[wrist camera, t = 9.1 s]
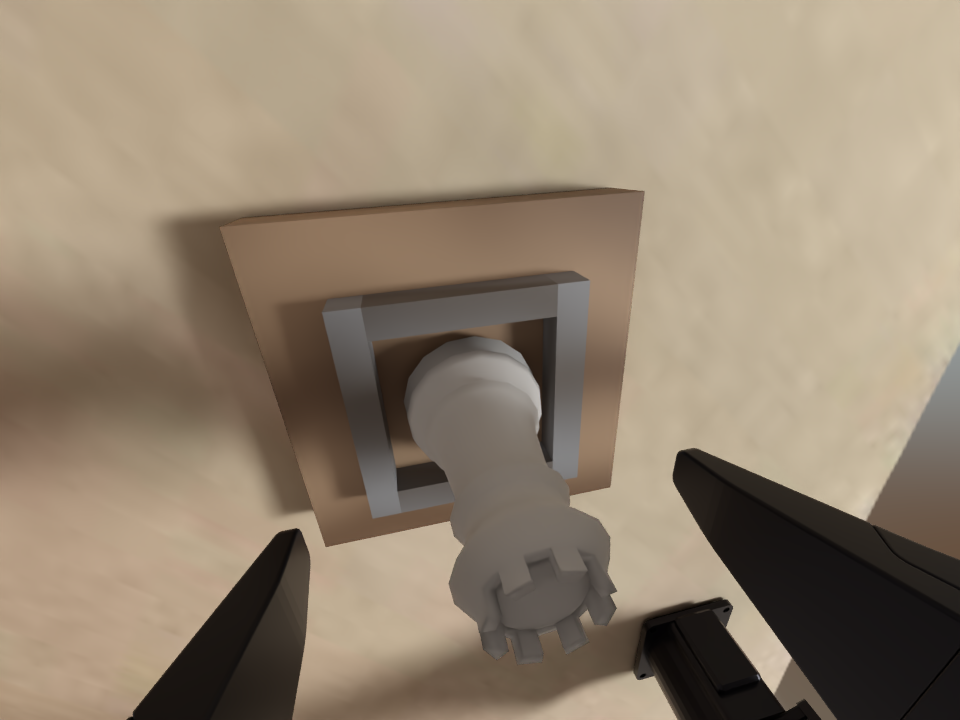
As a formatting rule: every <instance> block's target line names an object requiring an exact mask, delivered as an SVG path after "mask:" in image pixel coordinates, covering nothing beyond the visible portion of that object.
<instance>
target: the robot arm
mask: <svg viewBox="0 0 960 720" xmlns="http://www.w3.org/2000/svg"><path fill="white" fill-rule="evenodd" d="M673 482H674V484H675V487H676V488H677V490H678V492H679V493H680V495H681V497H682V498H683V500H684V502H685V503H686V505H687V507H688V509H689V510H690V512H691V514H692V515H693V517H694V519H695V520H696V522H697V524H698V525H699V527H700V529H701V531H702V532H703V534H704V535H705V537H706V539H707V540H708V542H709V543H710V545H711V546H712V547H713V549H714V550H715V552H716V553H717V554H718V556H719V557H720V559H721V560H722V561H723V563H724V564H725V566H726V567H727V568H728V570H729V571H730V572H731V574H732V575H733V577H734V578H735V579H736V581H737V582H738V583H739V585H740V586H741V588H742V589H743V590H744V592H745V593H746V595H747V596H748V597H749V599H750V600H751V601H752V603H753V604H754V606H755V607H756V608H757V610H758V611H759V613H760V614H761V615H762V617H763V618H764V619H765V621H766V622H767V624H768V625H769V626H770V628H771V629H772V630H773V632H774V633H775V635H776V636H777V637H778V639H779V640H780V642H781V643H782V644H783V646H784V647H785V648H786V650H787V651H788V653H789V654H790V655H791V657H792V658H793V659H794V661H795V662H796V664H797V665H798V666H799V668H800V669H801V671H802V672H803V673H804V675H805V676H806V677H807V679H808V680H809V682H810V683H811V684H812V686H813V687H814V689H815V690H816V691H817V693H818V694H819V695H820V697H821V698H822V700H823V701H824V702H825V704H826V705H827V706H828V708H829V709H830V711H831V712H832V713H833V714H834V716H835V717H836V718H837V720H960V560H958V559H956V558H953V557H951V556H948V555H946V554H943V553H941V552H938V551H935V550H933V549H930V548H928V547H926V546H923V545H921V544H918V543H916V542H914V541H911V540H909V539H906V538H904V537H902V536H899V535H897V534H894V533H892V532H890V531H888V530H885V529H883V528H881V527H878V526H876V525H871V524H870V523H869V522H866V521H864V520H862V519H859V518H857V517H855V516H853V515H850V514H848V513H846V512H843V511H841V510H839V509H836V508H834V507H832V506H829V505H827V504H825V503H822V502H820V501H818V500H815V499H813V498H811V497H808V496H806V495H804V494H801V493H799V492H797V491H794V490H792V489H790V488H787V487H785V486H783V485H780V484H778V483H776V482H773V481H771V480H769V479H766V478H764V477H762V476H759V475H757V474H755V473H752V472H750V471H748V470H746V469H743V468H741V467H739V466H736V465H734V464H732V463H729V462H727V461H725V460H722V459H720V458H718V457H715V456H713V455H711V454H708V453H706V452H704V451H701V450H699V449H696V448H691V449H686V450H681V451H679V452H678V454H677V456H676V461H675V466H674V471H673ZM309 579H310V555H309V551H308V549H307V546H306V543H305V540H304V538H303V535H302V532H301V531H300V530H299V529H297V528H295V529H290V530H285V531H281V532H279V533H278V534H276V535H275V537H274V538H273V539H272V540H271V542H270V543H269V544H268V545H267V546H266V548H265V549H264V550H263V551H262V553H261V554H260V555H259V556H258V558H257V559H256V560H255V561H254V563H253V564H252V565H251V566H250V568H249V569H248V570H247V571H246V572H245V574H244V575H243V576H242V577H241V579H240V580H239V581H238V582H237V584H236V585H235V586H234V587H233V589H232V590H231V591H230V592H229V594H228V595H227V596H226V597H225V599H224V600H223V601H222V602H221V603H220V605H219V606H218V607H217V608H216V610H215V611H214V612H213V613H212V615H211V616H210V617H209V618H208V620H207V621H206V622H205V623H204V625H203V626H202V627H201V628H200V629H199V631H198V632H197V633H196V634H195V636H194V637H193V638H192V639H191V641H190V642H189V643H188V644H187V646H186V647H185V648H184V649H183V651H182V652H181V653H180V654H179V655H178V657H177V658H176V659H175V660H174V662H173V663H172V664H171V665H170V667H169V668H168V669H167V670H166V672H165V673H164V674H163V675H162V677H161V678H160V679H159V680H158V681H157V683H156V684H155V685H154V686H153V688H152V689H151V690H150V691H149V693H148V694H147V695H146V696H145V698H144V699H143V700H142V701H141V703H140V704H139V705H138V706H137V707H136V709H135V710H134V711H133V717H129V718H127V720H292V716H293V710H294V704H295V699H296V693H297V687H298V681H299V675H300V670H301V664H302V658H303V652H304V645H305V638H306V625H307V610H308V594H309ZM732 609H733V606H732V605H731V603H730V602H729V601H728V600H721V601H718V602H714V603H711V604H707V605H703V606H700V607H696V608H692V609H689V610H685V611H681V612H678V613H674V614H670V615H667V616H663V617H659V618H656V619H652V620H649V621H647V622H646V623H645V624H644V625H643V628H642V633H641V638H640V643H639V647H638V652H637V657H636V662H635V667H634V674H635V676H636V678H637V679H638V680H642V679H645V678H649V677H652V676H655V678H656V680H657V682H658V684H659V685H660V687H661V689H662V691H663V693H664V695H665V697H666V699H667V701H668V703H669V704H670V706H671V708H672V710H673V712H674V714H675V716H676V718H677V720H821V718H820V717H819V716H818V715H817V714H816V712H815V711H814V710H813V709H812V707H811V706H810V705H809V704H808V702H807V701H806V700H805V699H803V700H801V701H799V702H798V703H796V704H797V706H795V707H793V708H792V709H790V710H788V711H785V710H784V708H783V707H782V705H781V704H780V703H779V702H778V700H777V699H776V697H775V696H774V695H773V693H772V692H771V690H770V689H769V688H768V686H767V685H766V684H765V682H764V681H763V680H762V678H761V676H760V674H759V672H758V671H757V669H756V668H755V667H754V665H753V664H752V663H751V661H750V660H749V659H748V657H747V656H746V655H745V653H744V652H743V650H742V649H741V648H740V646H739V645H738V644H737V642H736V641H735V640H734V638H733V637H732V635H731V634H730V633H729V631H728V630H727V629H726V626H727V623H728V620H729V618H730V615H731V612H732Z"/></svg>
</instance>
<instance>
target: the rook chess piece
mask: <svg viewBox="0 0 960 720" xmlns="http://www.w3.org/2000/svg"><path fill="white" fill-rule="evenodd" d="M404 405H405V408H406V412H407V418H408V422H409V425H410V429H411V433H412V437H413V439H414V441H415V442H416V444H417V445H418V446H419V447H420V448H421V449H422V451H423V452H424V453H425V454H426V455H427V456H428V457H429V458H430V459H431V460H432V461H434V462H435V463H436V464H437V465H438V466H439V467H440V468H441V469H442V470H444V471H445V474H446V476H447V479H448V481H449V484H450V486H451V489H452V491H453V494H454V496H455V503H454V506H453V510H452V513H451V516H450V522H451V526H452V530H453V534H454V537H455V538H456V539H458V540H459V541H460V542H461V543H462V544H463V545H464V547H463V549H462V550H461V552H460V554H459V555H458V557H457V559H456V562H455V565H454V568H453V571H452V574H451V577H450V581H449V586H450V590H451V593H452V597H453V601H454V604H455V605H456V606H457V607H459V608H460V609H461V610H462V611H463V612H465V613H466V614H467V615H468V616H469V617H471V618H472V619H473V620H474V621H476V622H477V625H478V630H479V633H480V636H481V641H482V646H483V650H485V651H486V652H487V653H488V654H490V655H491V656H492V657H493V658H495V659H496V660H498V659H499V658H500V657H502V656H503V655H504V654H506V653H507V652H508V651H509V650H508V646H507V642H506V638H510V639H511V642H512V646H513V650H514V653H515V657H516V661H517V665H518V664H530V663H542V659H543V654H544V653H543V650H542V647H541V643H540V640H539V637H538V636H539V635H542V634H546V633H549V632H552V631H555V630H557V631H558V634H559V637H560V640H561V642H562V645H563V648H564V650H565V652H566V654H569V653H570V652H572V651H574V650H576V649H578V648H579V647H581V646H583V645H585V644H586V643H588V642H589V640H588V638H587V635H586V633H585V630H584V628H583V626H582V623H581V621H580V619H579V617H580V616H581V615H582V614H583V613H584V612H585V611H587V610H588V611H589V613H590V616H591V618H592V620H593V622H594V625H604V626H607V624H608V623H609V621H610V619H611V617H612V616H613V614H614V612H615V610H616V609H617V608H616V606H615V604H614V602H613V600H612V598H611V596H610V594H612V593H615V592H617V590H616V588H615V586H614V584H613V582H612V581H611V579H610V577H609V575H608V573H607V571H608V565H609V560H610V536H609V535H608V533H607V532H606V530H605V529H604V527H603V526H602V524H601V523H600V521H599V520H598V519H597V518H594V517H592V516H590V515H588V514H586V513H584V512H581V511H579V510H577V509H575V508H572V507H569V506H570V496H569V486H568V485H567V483H566V482H565V480H564V479H563V478H562V476H561V475H560V473H559V472H557V471H555V470H553V469H551V468H549V467H548V466H547V464H546V462H545V459H544V456H543V452H542V449H541V446H540V443H539V440H538V437H537V433H538V431H539V420H540V417H541V415H542V413H541V401H540V390H539V385H538V383H537V382H536V380H535V379H534V377H533V375H532V371H531V369H530V368H529V366H528V365H527V363H526V361H525V360H524V358H523V356H522V355H521V353H519V352H518V351H516V350H515V349H513V348H511V347H510V346H508V345H507V344H505V343H504V342H502V341H501V340H495V339H489V338H483V337H476V336H473V337H468V338H463V339H459V340H454V341H449V342H446V343H445V344H443V345H442V346H440V347H438V348H437V349H435V350H434V351H432V352H431V353H429V354H428V355H426V356H424V357H423V359H422V360H421V361H420V363H419V364H418V366H417V367H416V368H415V370H414V371H413V373H412V374H411V375H410V377H409V378H408V383H407V388H406V393H405V398H404ZM505 637H506V638H505Z"/></svg>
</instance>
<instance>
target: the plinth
mask: <svg viewBox="0 0 960 720" xmlns="http://www.w3.org/2000/svg"><path fill="white" fill-rule="evenodd" d="M644 192H645V191H636V190H627V189H617V188H605V189H593V190H580V191H568V192H556V193H543V194H531V195H519V196H506V197H494V198H482V199H470V200H457V201H445V202H433V203H420V204H408V205H396V206H383V207H371V208H359V209H346V210H334V211H322V212H309V213H297V214H285V215H272V216H260V217H248V218H241V219H239V220H236V221H234V222H231V223H229V224H226V225H223V226H221V227H219V228H220V231H221V234H222V237H223V240H224V243H225V246H226V249H227V252H228V255H229V258H230V261H231V264H232V267H233V270H234V273H235V276H236V279H237V282H238V285H239V288H240V291H241V294H242V297H243V300H244V303H245V306H246V309H247V312H248V315H249V318H250V321H251V324H252V327H253V330H254V333H255V336H256V339H257V342H258V345H259V348H260V351H261V354H262V357H263V360H264V363H265V366H266V369H267V372H268V375H269V378H270V381H271V384H272V387H273V390H274V393H275V396H276V399H277V402H278V405H279V408H280V411H281V414H282V417H283V420H284V423H285V426H286V429H287V432H288V435H289V438H290V441H291V444H292V447H293V450H294V453H295V456H296V459H297V462H298V465H299V468H300V471H301V474H302V477H303V480H304V483H305V486H306V489H307V492H308V495H309V498H310V501H311V504H312V507H313V510H314V513H315V516H316V519H317V522H318V525H319V528H320V531H321V534H322V537H323V540H324V543H325V546H326V547H329V546H333V545H338V544H343V543H347V542H352V541H357V540H362V539H366V538H371V537H376V536H381V535H385V534H390V533H395V532H400V531H404V530H409V529H414V528H419V527H423V526H428V525H433V524H438V523H442V522H447V521H450V516H451V513H452V510H453V506H454V503H455V496H454V494H453V491H452V489H451V486H450V484H449V481H448V479H447V476H446V474H445V471H444V470H442V469H441V468H440V467H439V466H438V465H437V464H436V463H435V462H434V461H432V460H431V459H430V458H429V457H428V456H427V455H426V454H425V453H424V452H423V451H422V449H421V448H420V447H419V446H418V445H417V444H416V442H415V441H414V439H413V437H412V433H411V429H410V425H409V422H408V418H407V412H406V408H405V405H404V398H405V393H406V388H407V383H408V378H409V377H410V375H411V374H412V373H413V371H414V370H415V368H416V367H417V366H418V364H419V363H420V361H421V360H422V359H423V357H424V356H426V355H428V354H429V353H431V352H432V351H434V350H435V349H437V348H438V347H440V346H442V345H443V344H445V343H446V342H449V341H454V340H459V339H463V338H468V337H473V336H476V337H483V338H489V339H495V340H501V341H502V342H504V343H505V344H507V345H508V346H510V347H511V348H513V349H515V350H516V351H518V352H519V353H521V355H522V356H523V358H524V360H525V361H526V363H527V365H528V366H529V368H530V369H531V371H532V375H533V377H534V379H535V380H536V382H537V383H538V385H539V390H540V401H541V413H542V415H541V417H540V420H539V431H538V433H537V437H538V440H539V443H540V446H541V449H542V452H543V456H544V459H545V462H546V464H547V466H548V467H549V468H551V469H553V470H555V471H557V472H559V473H560V475H561V476H562V478H563V479H564V480H565V482H566V483H567V485H568V486H569V496H570V495H575V494H580V493H585V492H589V491H594V490H599V489H604V488H608V487H610V485H611V476H612V468H613V459H614V450H615V442H616V433H617V425H618V416H619V407H620V399H621V390H622V382H623V373H624V364H625V356H626V347H627V339H628V330H629V321H630V313H631V304H632V295H633V287H634V278H635V270H636V261H637V252H638V244H639V235H640V227H641V218H642V209H643V201H644Z"/></svg>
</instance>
